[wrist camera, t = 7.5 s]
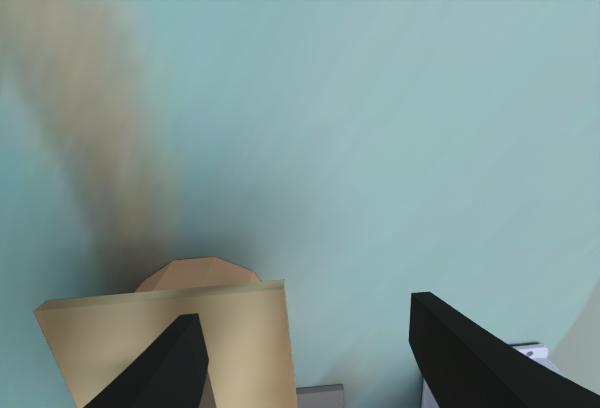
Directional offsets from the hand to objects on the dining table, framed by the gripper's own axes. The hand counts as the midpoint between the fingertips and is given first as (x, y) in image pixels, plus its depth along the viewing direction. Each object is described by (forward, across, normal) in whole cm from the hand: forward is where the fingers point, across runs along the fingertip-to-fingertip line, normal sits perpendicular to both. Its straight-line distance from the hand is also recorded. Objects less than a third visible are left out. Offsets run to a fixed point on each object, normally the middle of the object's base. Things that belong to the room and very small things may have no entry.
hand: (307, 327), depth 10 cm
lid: (+5, +7, +7) cm, 11 cm away
